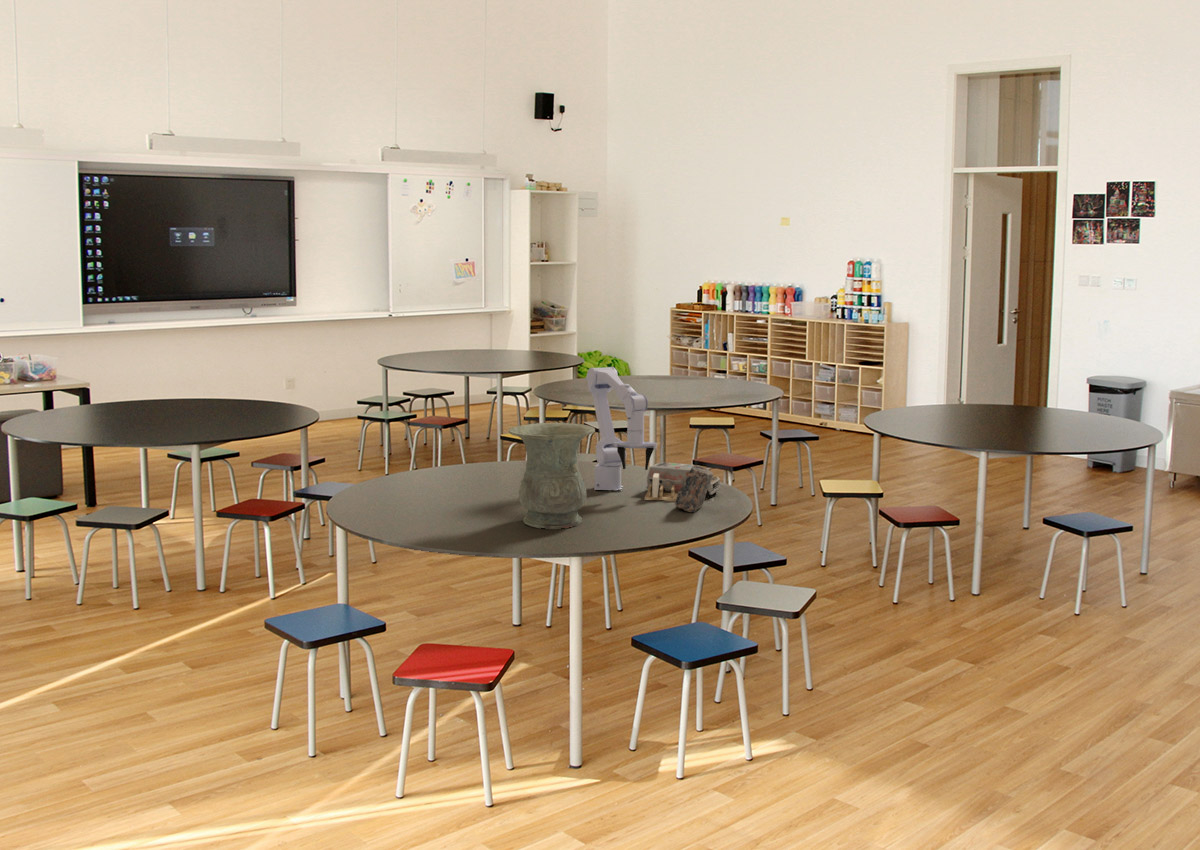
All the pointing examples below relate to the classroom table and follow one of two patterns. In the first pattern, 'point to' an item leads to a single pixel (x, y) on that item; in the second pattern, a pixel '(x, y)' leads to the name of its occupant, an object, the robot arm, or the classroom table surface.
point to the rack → (662, 494)
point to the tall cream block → (655, 485)
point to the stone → (694, 489)
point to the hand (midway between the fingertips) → (635, 469)
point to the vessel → (552, 474)
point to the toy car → (676, 477)
